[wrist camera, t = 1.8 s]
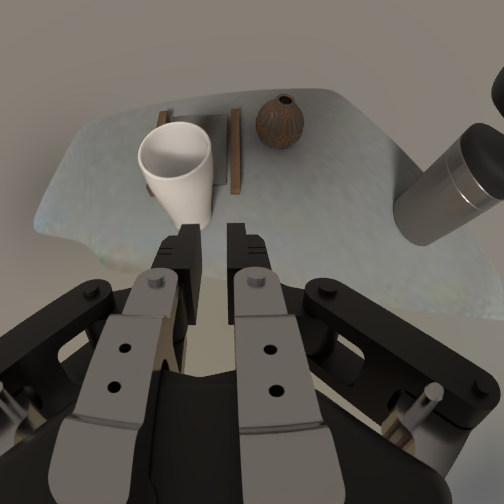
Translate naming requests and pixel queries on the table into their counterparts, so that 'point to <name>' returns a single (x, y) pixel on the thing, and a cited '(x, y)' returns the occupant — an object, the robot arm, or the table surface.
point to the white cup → (179, 171)
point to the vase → (280, 122)
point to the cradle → (216, 144)
